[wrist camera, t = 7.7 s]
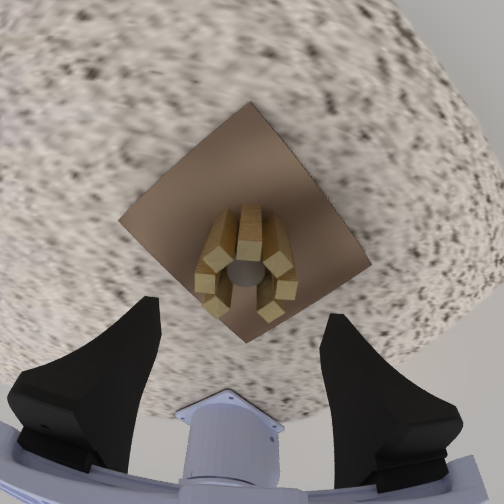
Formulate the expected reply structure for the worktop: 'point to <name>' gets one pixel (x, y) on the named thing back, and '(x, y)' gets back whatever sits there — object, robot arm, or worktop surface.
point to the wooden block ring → (249, 248)
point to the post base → (232, 197)
